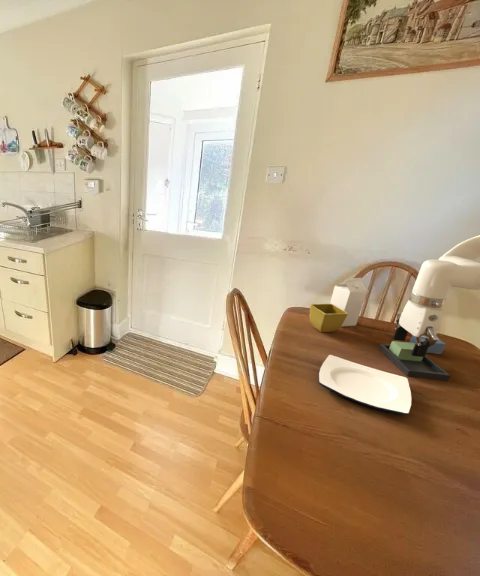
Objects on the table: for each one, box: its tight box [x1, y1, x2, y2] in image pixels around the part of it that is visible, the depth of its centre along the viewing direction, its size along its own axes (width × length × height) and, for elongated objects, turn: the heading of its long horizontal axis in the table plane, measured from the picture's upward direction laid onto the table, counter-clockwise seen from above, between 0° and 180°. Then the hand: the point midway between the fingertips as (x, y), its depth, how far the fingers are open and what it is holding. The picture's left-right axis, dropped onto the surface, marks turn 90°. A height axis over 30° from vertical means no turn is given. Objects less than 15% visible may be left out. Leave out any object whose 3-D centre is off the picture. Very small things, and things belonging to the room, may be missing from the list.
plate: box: [318, 354, 412, 416], centre depth 90 cm, size 20×20×3 cm
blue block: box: [408, 334, 447, 355], centre depth 107 cm, size 6×5×4 cm
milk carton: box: [329, 277, 368, 328], centre depth 123 cm, size 7×7×19 cm
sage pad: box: [389, 340, 423, 362], centre depth 103 cm, size 6×5×4 cm
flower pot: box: [308, 303, 348, 333], centre depth 120 cm, size 9×9×9 cm
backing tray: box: [378, 343, 451, 382], centre depth 100 cm, size 10×16×2 cm, turn 165°
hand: (407, 347), depth 102 cm, fingers open, 9 cm apart
